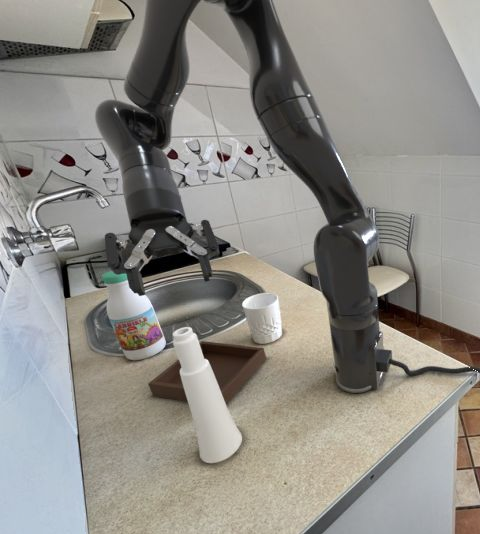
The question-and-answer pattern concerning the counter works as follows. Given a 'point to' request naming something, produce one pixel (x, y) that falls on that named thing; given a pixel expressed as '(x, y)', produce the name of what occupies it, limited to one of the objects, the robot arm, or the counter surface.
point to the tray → (214, 370)
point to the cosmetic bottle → (205, 400)
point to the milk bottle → (132, 319)
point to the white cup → (263, 317)
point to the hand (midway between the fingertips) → (175, 286)
